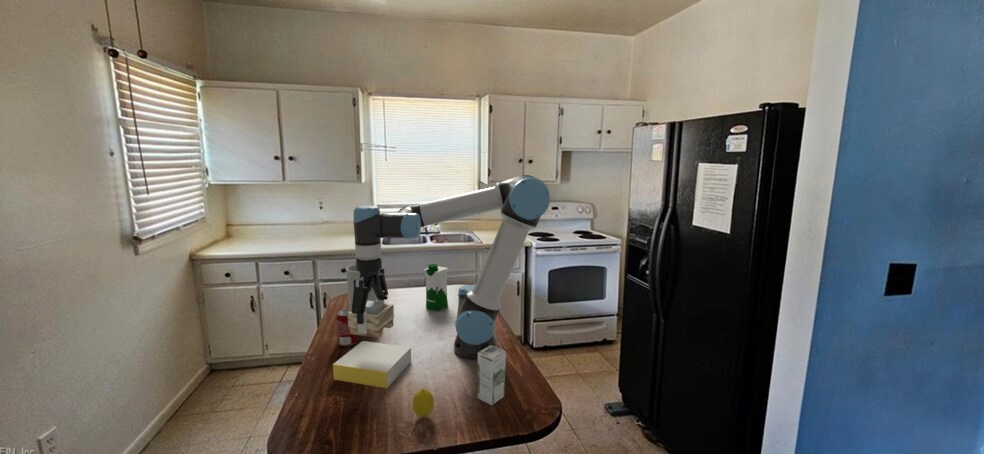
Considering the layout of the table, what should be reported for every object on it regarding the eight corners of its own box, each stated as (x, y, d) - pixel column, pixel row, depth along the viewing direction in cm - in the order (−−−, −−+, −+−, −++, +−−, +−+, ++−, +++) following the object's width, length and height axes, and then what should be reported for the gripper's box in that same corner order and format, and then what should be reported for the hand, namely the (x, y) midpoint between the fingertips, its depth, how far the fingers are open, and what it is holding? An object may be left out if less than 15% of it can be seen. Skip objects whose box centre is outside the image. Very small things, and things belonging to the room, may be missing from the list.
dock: (411, 361, 139) (410, 347, 138) (386, 388, 124) (386, 372, 123) (363, 354, 144) (362, 340, 143) (333, 379, 128) (332, 364, 127)
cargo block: (382, 314, 132) (382, 302, 132) (374, 320, 128) (373, 307, 127) (368, 312, 134) (368, 300, 133) (359, 318, 129) (359, 306, 128)
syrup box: (489, 389, 123) (489, 343, 120) (505, 397, 119) (506, 350, 117) (476, 398, 119) (476, 351, 116) (492, 406, 115) (493, 357, 112)
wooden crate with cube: (394, 325, 135) (393, 304, 134) (378, 338, 125) (377, 316, 124) (366, 321, 137) (365, 301, 136) (348, 334, 128) (347, 312, 127)
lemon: (435, 410, 113) (434, 383, 112) (433, 423, 108) (432, 395, 106) (414, 410, 113) (413, 383, 112) (411, 424, 108) (410, 395, 106)
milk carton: (422, 308, 185) (421, 265, 181) (436, 302, 193) (435, 260, 189) (438, 312, 180) (437, 268, 177) (451, 306, 188) (450, 263, 184)
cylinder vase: (346, 327, 166) (342, 266, 161) (376, 319, 173) (373, 261, 168) (356, 338, 156) (353, 274, 151) (388, 330, 163) (385, 268, 159)
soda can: (351, 348, 148) (349, 316, 146) (334, 346, 149) (331, 314, 147) (361, 340, 155) (359, 309, 152) (344, 338, 156) (342, 307, 154)
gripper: (376, 247, 139) (379, 311, 143) (335, 265, 117) (339, 340, 121) (397, 249, 137) (399, 313, 141) (358, 268, 115) (362, 343, 119)
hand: (372, 325), depth 131 cm, fingers closed on wooden crate with cube, 10 cm apart
